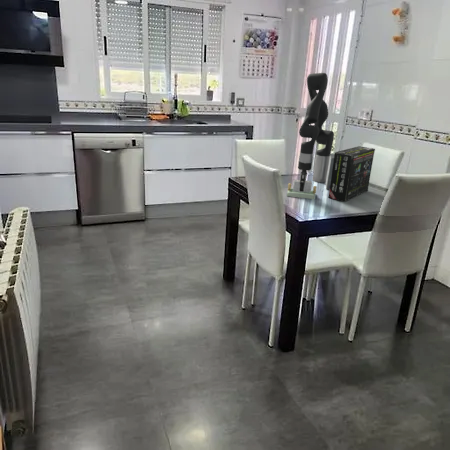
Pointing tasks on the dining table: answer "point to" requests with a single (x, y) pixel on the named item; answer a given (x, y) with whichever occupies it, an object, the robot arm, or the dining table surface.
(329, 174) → the hard drive box
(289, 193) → the tray
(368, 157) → the router box
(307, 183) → the block
